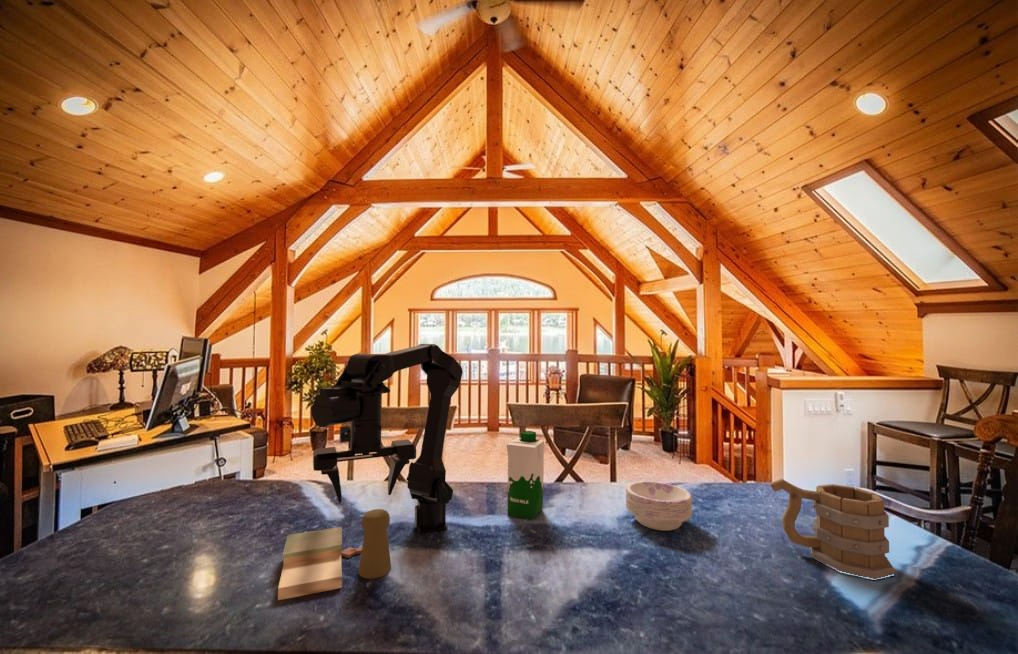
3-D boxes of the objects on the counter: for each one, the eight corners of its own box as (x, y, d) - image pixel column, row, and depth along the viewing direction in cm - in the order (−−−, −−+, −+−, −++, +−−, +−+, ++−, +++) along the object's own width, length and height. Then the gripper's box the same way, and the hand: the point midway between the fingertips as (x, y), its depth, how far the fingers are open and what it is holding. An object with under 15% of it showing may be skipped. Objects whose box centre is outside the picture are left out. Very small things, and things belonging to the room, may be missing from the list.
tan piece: (371, 541, 92) (371, 522, 92) (378, 580, 77) (378, 558, 77) (287, 555, 86) (287, 535, 86) (277, 600, 71) (277, 576, 71)
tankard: (880, 556, 88) (879, 483, 88) (901, 587, 77) (900, 504, 77) (768, 534, 97) (767, 469, 98) (772, 559, 86) (772, 485, 87)
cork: (381, 580, 77) (382, 519, 78) (351, 576, 78) (353, 516, 79) (396, 563, 83) (397, 506, 83) (368, 559, 84) (370, 504, 85)
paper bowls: (675, 510, 111) (675, 479, 111) (703, 537, 96) (703, 501, 96) (618, 510, 110) (618, 479, 111) (637, 537, 95) (637, 501, 95)
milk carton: (546, 508, 111) (547, 432, 111) (535, 522, 102) (536, 439, 103) (515, 503, 114) (516, 429, 115) (502, 516, 106) (503, 436, 106)
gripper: (405, 408, 94) (404, 478, 94) (312, 414, 86) (311, 492, 85) (417, 417, 84) (416, 495, 84) (314, 425, 76) (312, 512, 75)
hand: (365, 498), depth 82 cm, fingers open, 9 cm apart
